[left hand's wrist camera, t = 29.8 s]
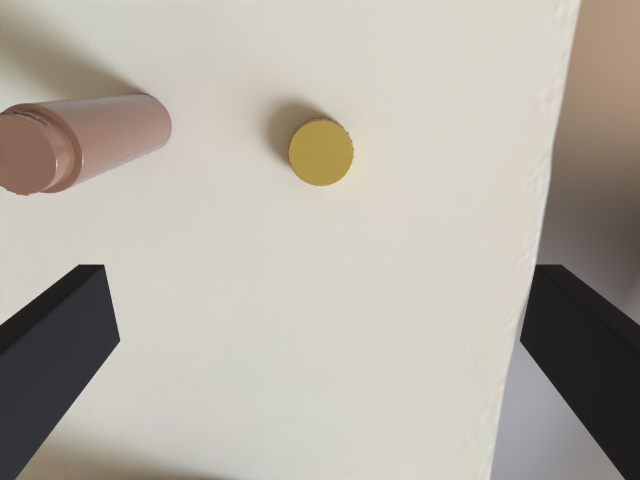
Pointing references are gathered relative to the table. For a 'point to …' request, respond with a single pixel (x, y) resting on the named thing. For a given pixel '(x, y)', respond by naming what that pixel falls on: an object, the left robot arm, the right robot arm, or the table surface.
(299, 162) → the lid
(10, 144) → the jar
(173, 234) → the table surface
